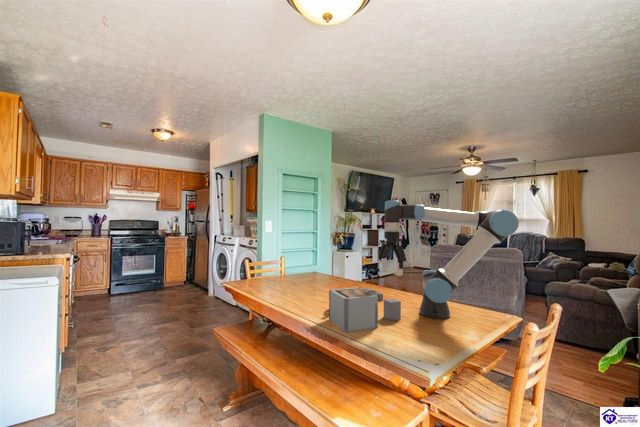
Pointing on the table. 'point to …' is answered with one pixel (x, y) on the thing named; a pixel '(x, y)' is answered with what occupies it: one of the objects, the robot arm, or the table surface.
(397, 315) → the basalt block
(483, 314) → the table surface
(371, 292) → the trapdoor
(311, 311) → the table surface
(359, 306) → the grey box
